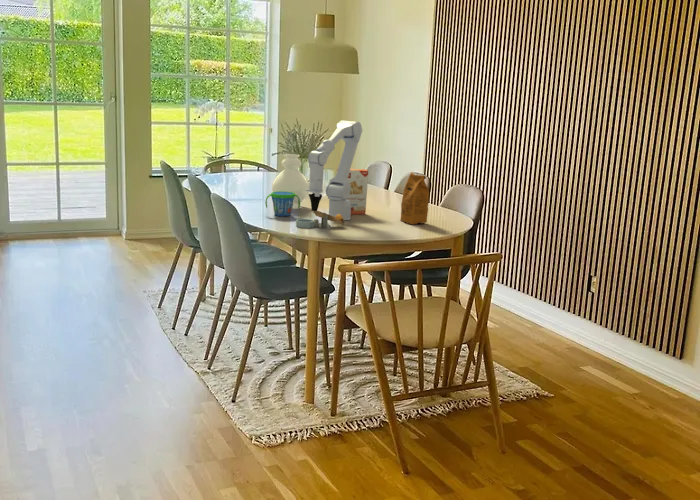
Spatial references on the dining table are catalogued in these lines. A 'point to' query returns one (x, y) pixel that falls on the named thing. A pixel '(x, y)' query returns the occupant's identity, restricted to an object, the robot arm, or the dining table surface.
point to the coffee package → (415, 200)
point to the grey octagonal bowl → (304, 223)
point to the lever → (330, 218)
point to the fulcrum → (322, 223)
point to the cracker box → (358, 190)
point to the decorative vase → (291, 179)
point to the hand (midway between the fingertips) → (314, 210)
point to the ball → (339, 217)
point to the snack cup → (282, 202)
